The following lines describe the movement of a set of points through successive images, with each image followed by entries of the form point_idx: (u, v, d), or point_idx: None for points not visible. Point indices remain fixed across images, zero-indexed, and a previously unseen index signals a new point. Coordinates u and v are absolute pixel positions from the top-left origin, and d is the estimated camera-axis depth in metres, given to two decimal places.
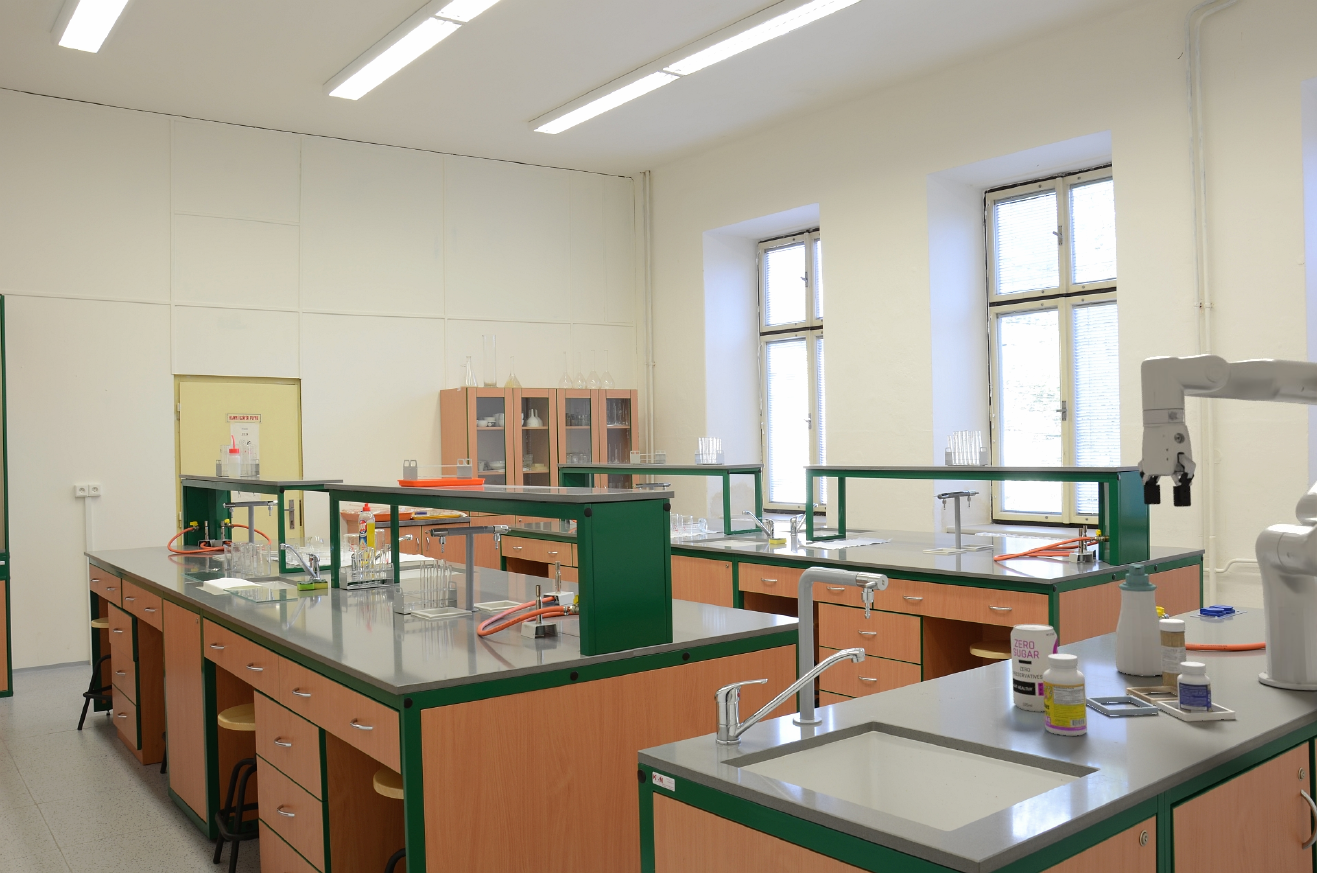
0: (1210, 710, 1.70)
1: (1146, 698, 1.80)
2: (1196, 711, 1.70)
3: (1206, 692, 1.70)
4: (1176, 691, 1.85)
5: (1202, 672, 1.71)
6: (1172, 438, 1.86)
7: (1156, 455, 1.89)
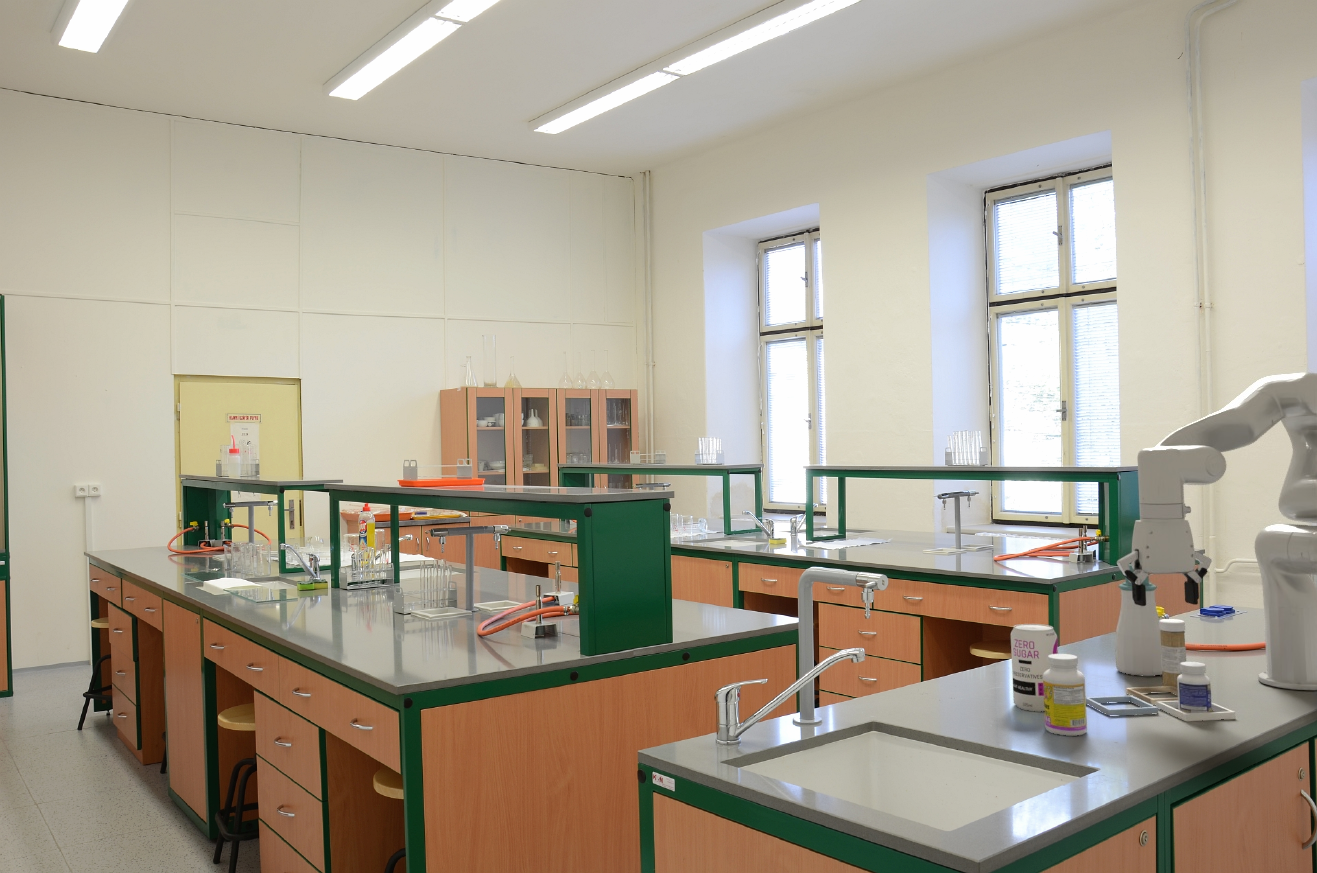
0: (1210, 710, 1.70)
1: (1146, 698, 1.80)
2: (1196, 711, 1.70)
3: (1206, 692, 1.70)
4: (1176, 691, 1.85)
5: (1202, 672, 1.71)
6: None
7: (1176, 551, 1.78)
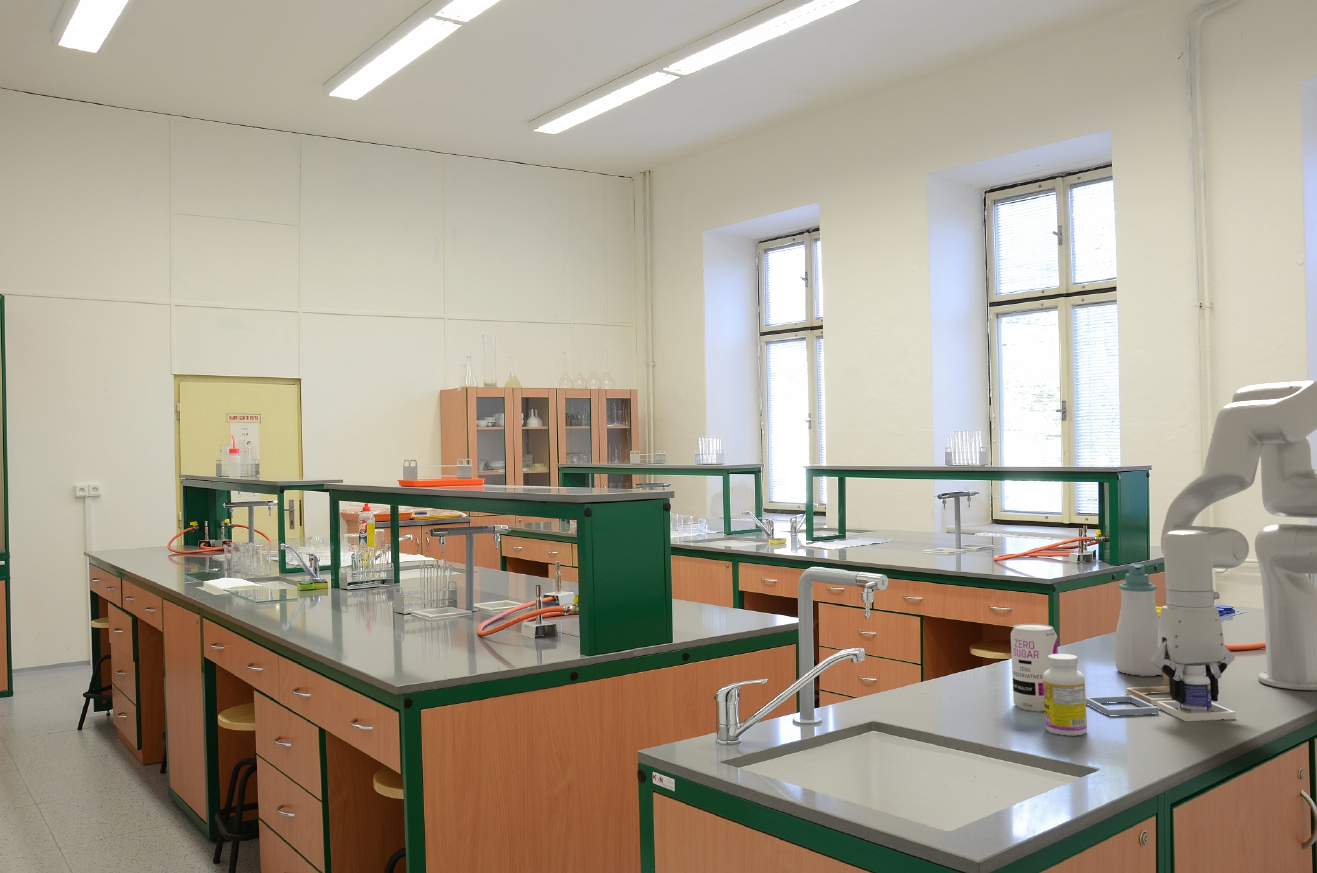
0: (1210, 710, 1.70)
1: (1146, 698, 1.80)
2: (1196, 711, 1.70)
3: (1206, 692, 1.70)
4: None
5: (1202, 672, 1.71)
6: None
7: (1205, 641, 1.70)
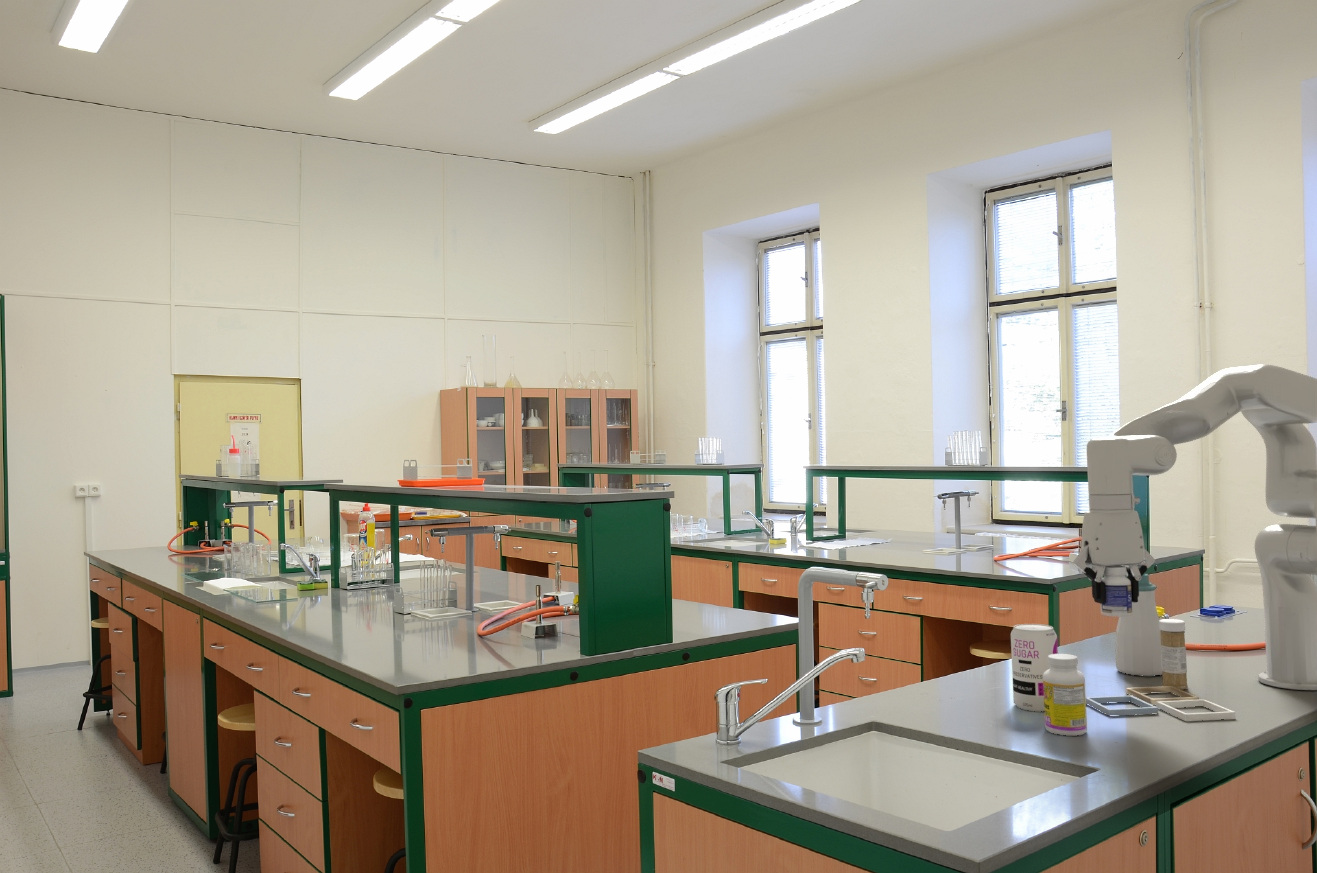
0: (1130, 610, 1.75)
1: (1146, 698, 1.80)
2: (1116, 611, 1.75)
3: (1126, 592, 1.75)
4: (1176, 691, 1.85)
5: (1122, 573, 1.75)
6: None
7: (1125, 543, 1.75)
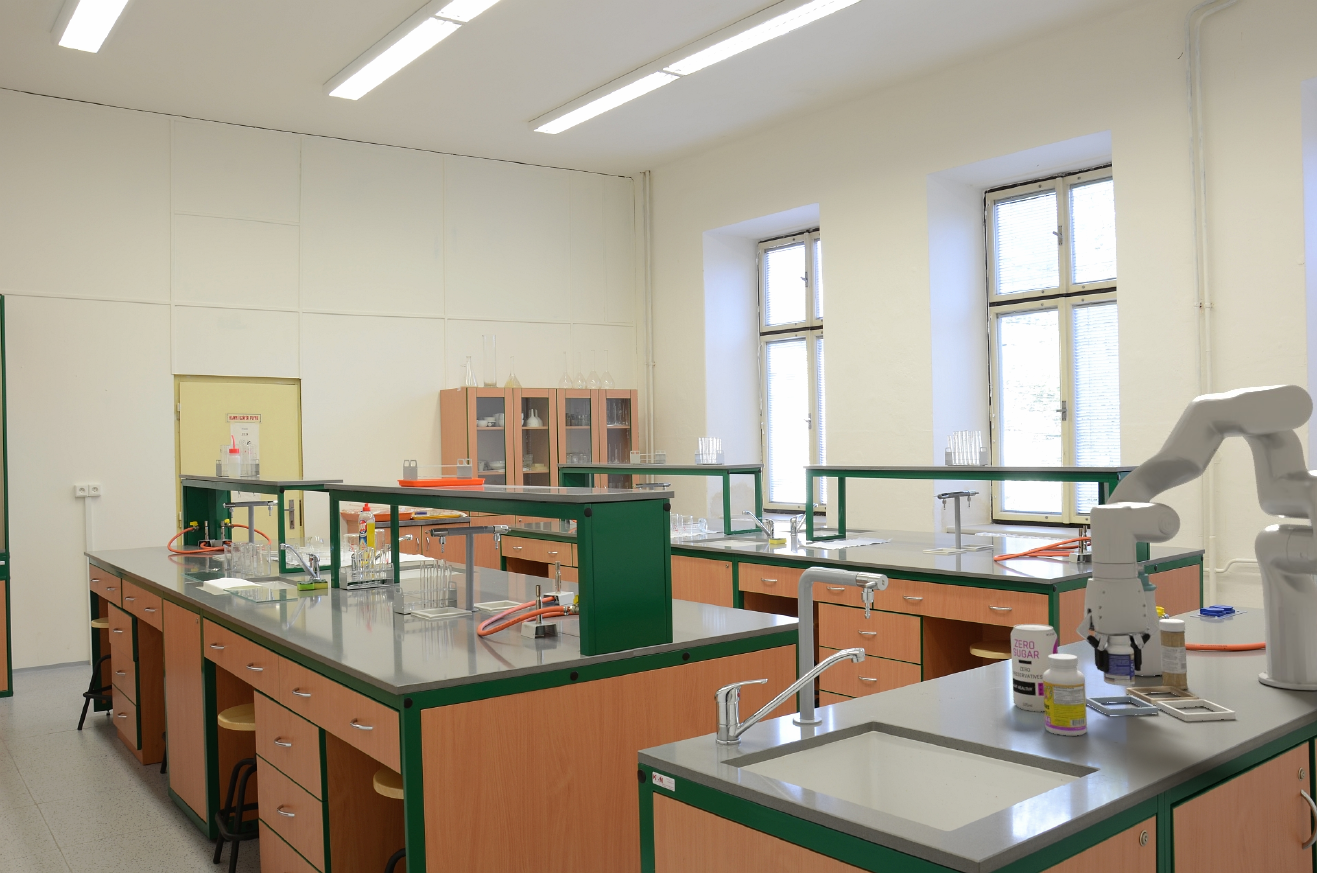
0: (1133, 679, 1.75)
1: (1146, 698, 1.80)
2: (1119, 680, 1.74)
3: (1129, 662, 1.74)
4: (1176, 691, 1.85)
5: (1125, 642, 1.75)
6: None
7: (1128, 611, 1.75)
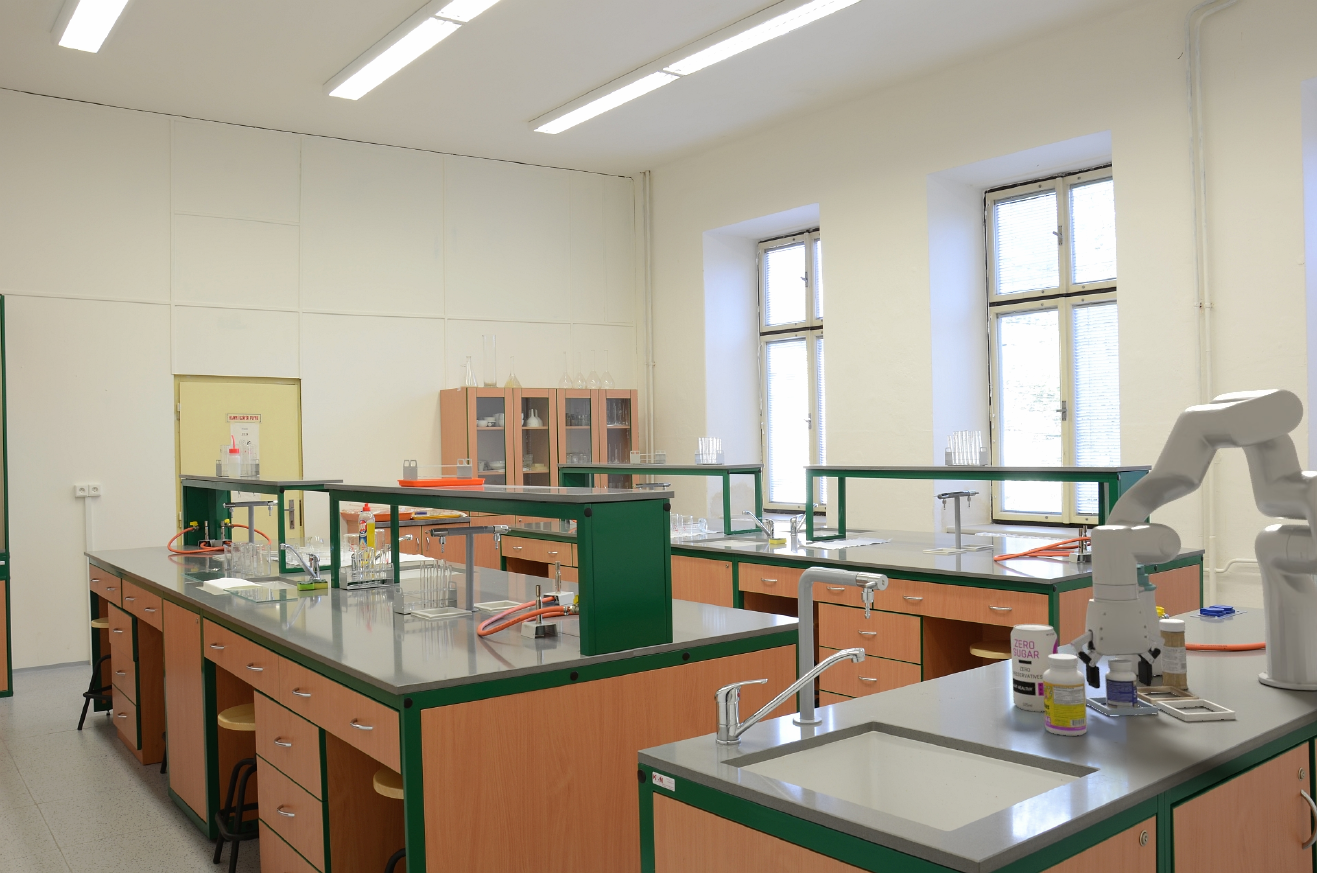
0: (1136, 706, 1.75)
1: (1146, 698, 1.80)
2: (1122, 707, 1.74)
3: (1132, 688, 1.74)
4: (1176, 691, 1.85)
5: (1128, 669, 1.75)
6: None
7: (1129, 633, 1.75)
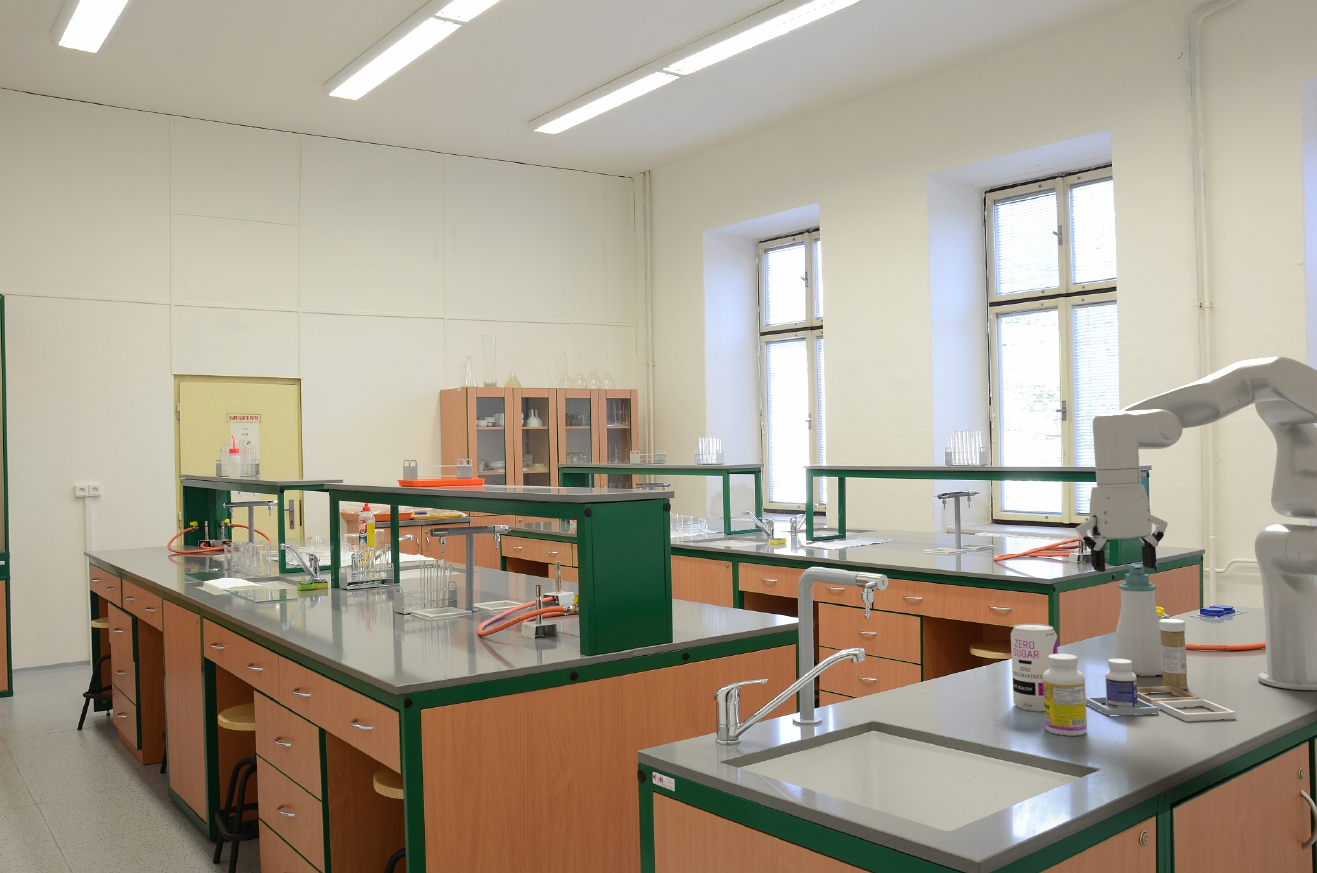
0: (1136, 706, 1.75)
1: (1146, 698, 1.80)
2: (1122, 707, 1.74)
3: (1132, 688, 1.74)
4: (1176, 691, 1.85)
5: (1128, 669, 1.75)
6: None
7: (1133, 516, 1.78)
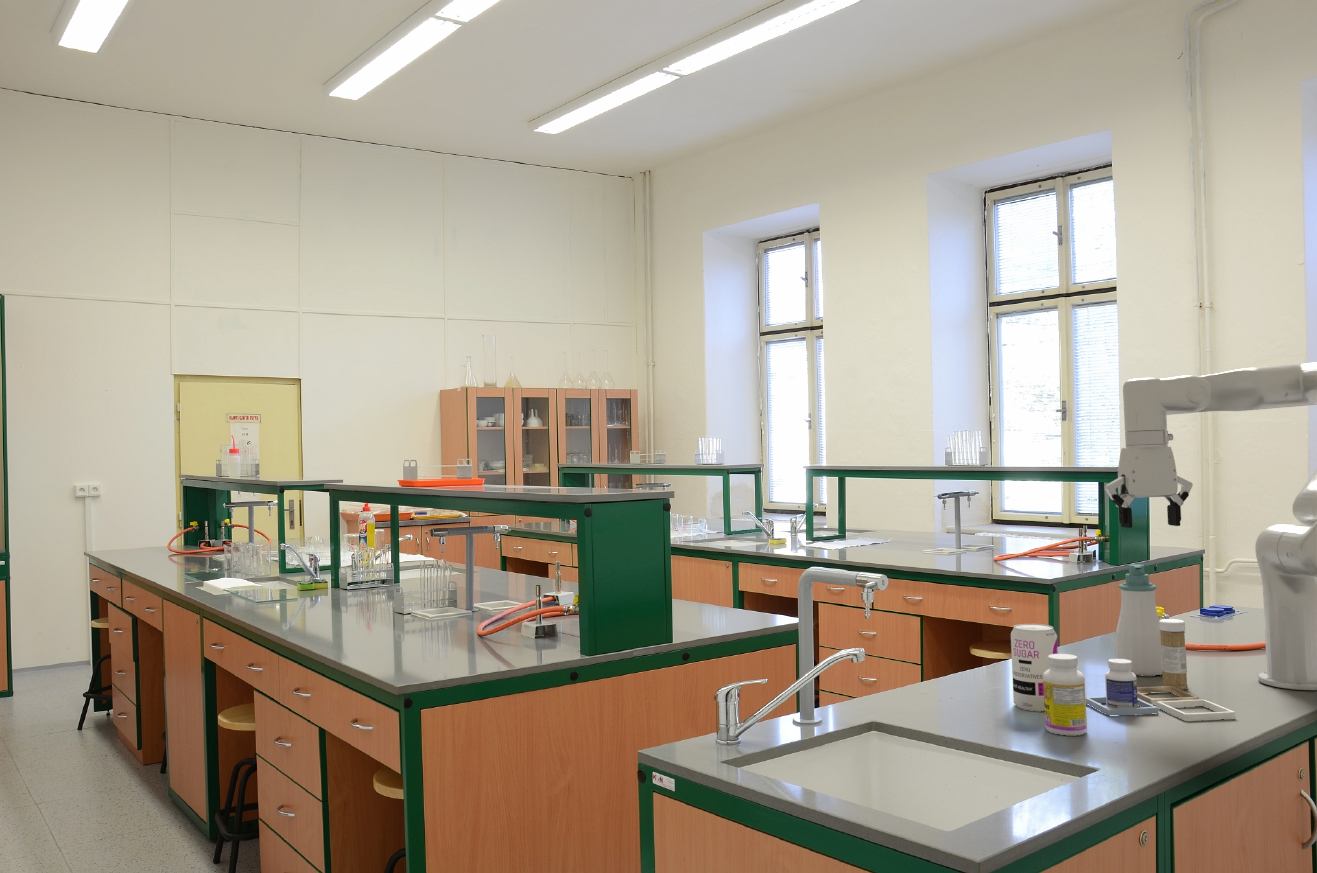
0: (1136, 706, 1.75)
1: (1146, 698, 1.80)
2: (1122, 707, 1.74)
3: (1132, 688, 1.74)
4: (1176, 691, 1.85)
5: (1128, 669, 1.75)
6: None
7: (1160, 475, 1.88)
